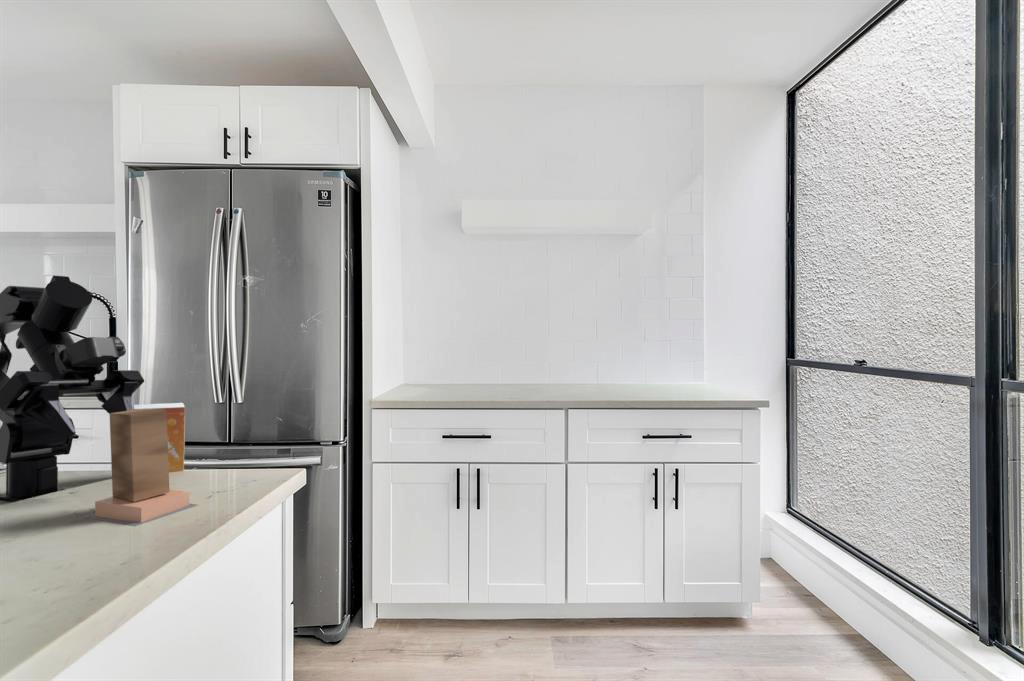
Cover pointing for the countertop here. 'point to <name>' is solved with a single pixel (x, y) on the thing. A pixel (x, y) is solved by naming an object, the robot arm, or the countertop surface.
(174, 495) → the terracotta tile
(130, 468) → the walnut pillar
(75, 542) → the countertop surface
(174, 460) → the small box
